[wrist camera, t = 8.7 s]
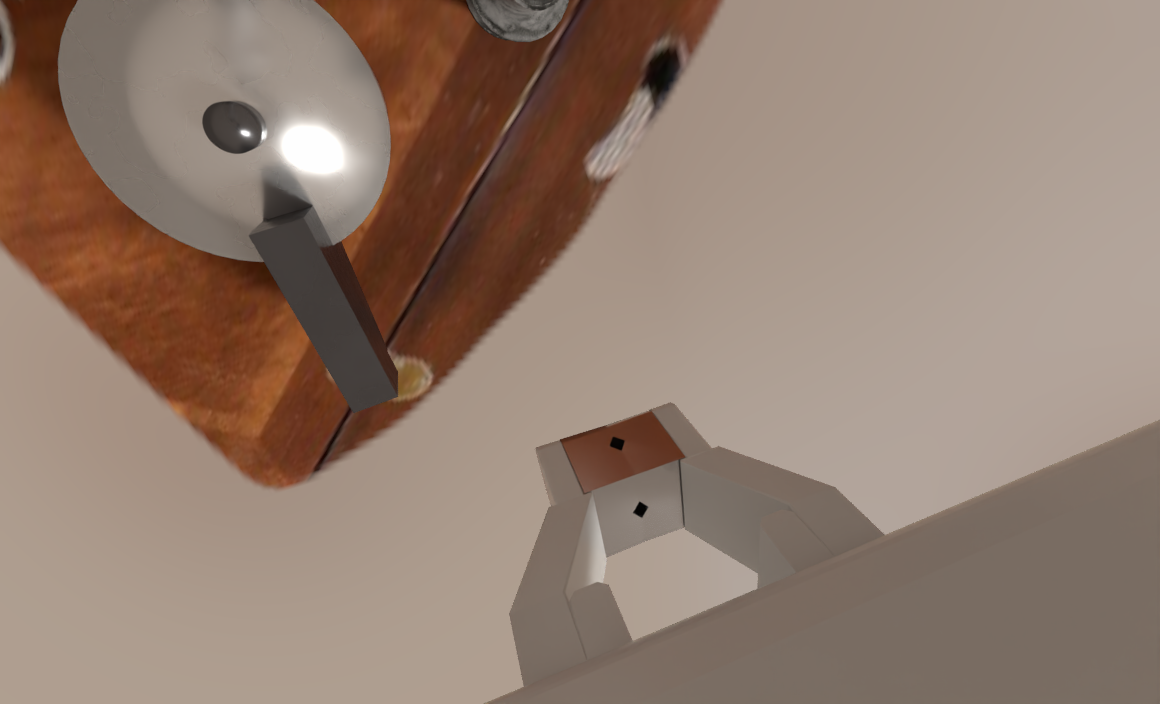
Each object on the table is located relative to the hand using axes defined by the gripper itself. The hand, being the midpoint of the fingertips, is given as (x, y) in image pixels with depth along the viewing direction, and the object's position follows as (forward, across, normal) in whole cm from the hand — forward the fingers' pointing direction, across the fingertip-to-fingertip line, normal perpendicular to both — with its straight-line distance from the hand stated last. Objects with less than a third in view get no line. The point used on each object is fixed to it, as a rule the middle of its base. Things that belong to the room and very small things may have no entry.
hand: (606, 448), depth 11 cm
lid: (+21, +9, -2) cm, 23 cm away
